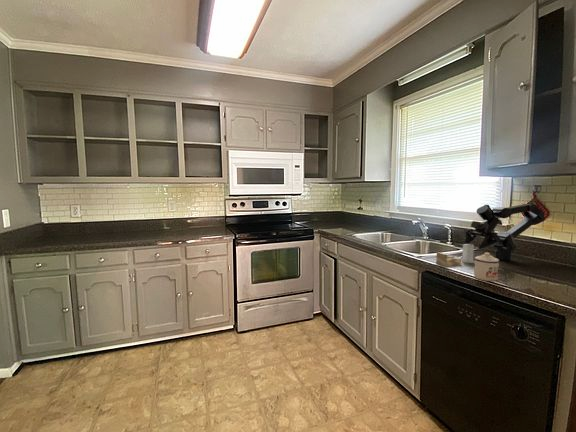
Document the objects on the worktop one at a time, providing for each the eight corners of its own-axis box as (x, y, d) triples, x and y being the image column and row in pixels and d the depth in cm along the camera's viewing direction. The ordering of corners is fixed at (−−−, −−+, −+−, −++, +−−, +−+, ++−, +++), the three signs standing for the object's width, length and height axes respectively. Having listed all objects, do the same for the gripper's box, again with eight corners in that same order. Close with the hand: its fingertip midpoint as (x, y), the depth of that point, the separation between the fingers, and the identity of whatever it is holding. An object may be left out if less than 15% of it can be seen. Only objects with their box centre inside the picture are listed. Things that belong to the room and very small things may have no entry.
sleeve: (452, 261, 154) (452, 251, 153) (461, 264, 148) (461, 253, 148) (436, 263, 152) (436, 252, 151) (444, 266, 146) (445, 254, 145)
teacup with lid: (488, 282, 120) (490, 256, 119) (468, 276, 129) (470, 251, 128) (507, 279, 124) (509, 253, 123) (487, 273, 133) (489, 249, 132)
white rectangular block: (468, 261, 154) (469, 243, 154) (472, 263, 152) (473, 244, 151) (462, 262, 154) (463, 244, 153) (466, 263, 151) (467, 245, 150)
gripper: (466, 214, 161) (449, 234, 159) (497, 217, 143) (478, 240, 141) (477, 227, 163) (460, 247, 162) (508, 231, 145) (490, 254, 144)
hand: (471, 246), depth 152 cm, fingers open, 9 cm apart
